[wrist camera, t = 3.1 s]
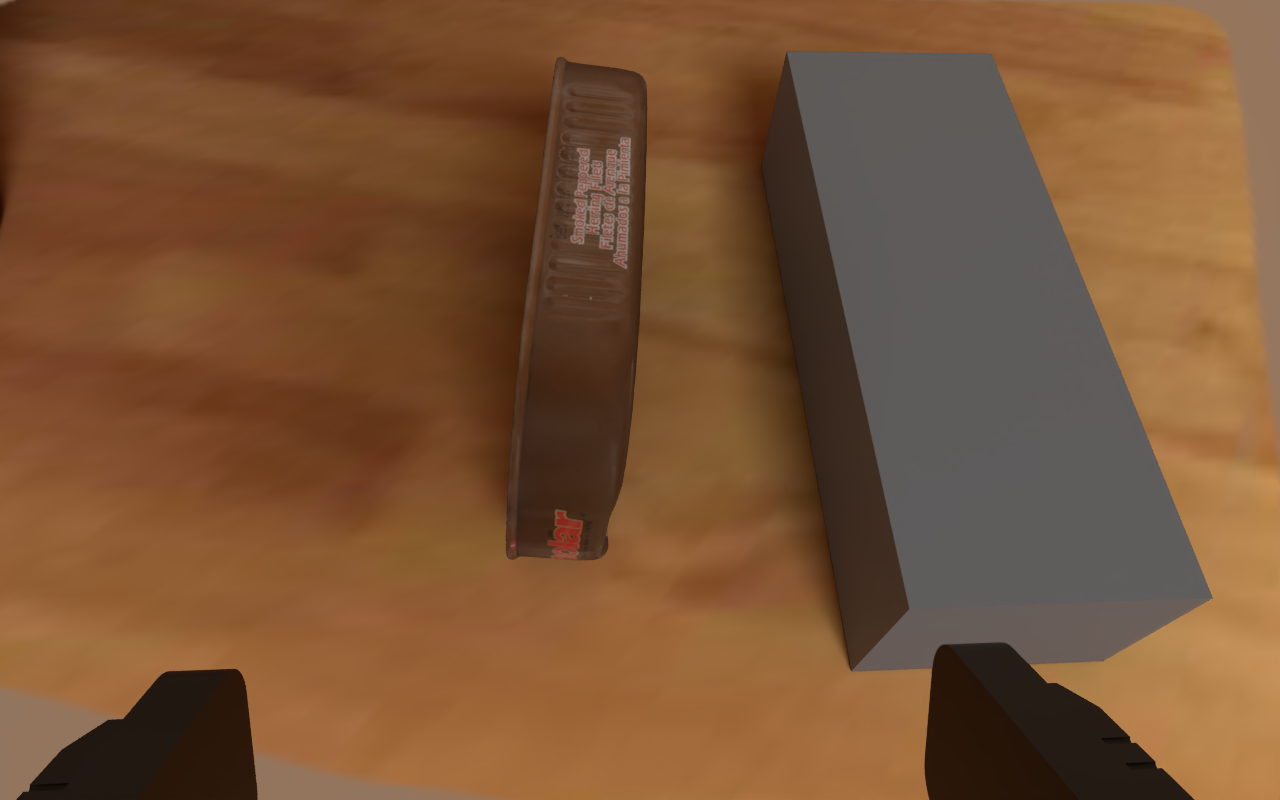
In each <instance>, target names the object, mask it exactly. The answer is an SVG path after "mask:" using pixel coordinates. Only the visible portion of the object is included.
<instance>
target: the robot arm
mask: <svg viewBox="0 0 1280 800" xmlns="http://www.w3.org/2000/svg"><path fill="white" fill-rule="evenodd" d="M925 779H926V786H927V791H928V796H929V800H1194V799H1193V798H1192V797H1191V796H1190V795H1189V794H1188V793H1187V792H1186V791H1185V790H1184V789H1183V788H1182V787H1181V786H1180V785H1179V784H1178V783H1177V782H1176V781H1175V780H1174V779H1173V778H1172V777H1171V776H1170V775H1169V774H1168V773H1167V772H1165V771H1164V770H1163V769H1162V768H1158V769H1157V767H1156V764H1155V761H1154V760H1153V759H1152V758H1151V757H1150V756H1149V755H1148V754H1147V753H1146V752H1145V751H1144V750H1143V749H1142V748H1141V747H1140V746H1139V745H1138V744H1137V743H1131V741H1130V736H1129V735H1127V734H1126V733H1125V732H1124V731H1123V730H1122V729H1121V728H1120V727H1119V726H1118V725H1117V724H1116V723H1115V722H1114V721H1113V720H1112V719H1111V718H1110V717H1109V716H1108V715H1107V714H1106V713H1105V712H1104V711H1103V710H1102V709H1101V708H1100V707H1098V706H1096V705H1095V704H1093V703H1091V702H1089V701H1088V700H1086V699H1084V698H1082V697H1080V696H1079V695H1077V694H1075V693H1073V692H1072V691H1070V690H1068V689H1066V688H1065V687H1063V686H1061V685H1059V684H1058V683H1047V682H1046V681H1045V680H1044V679H1043V678H1042V677H1041V676H1040V675H1039V674H1038V673H1037V672H1036V671H1035V670H1034V669H1033V668H1032V667H1031V666H1030V665H1029V664H1028V663H1027V662H1026V661H1025V660H1024V659H1023V658H1022V657H1021V656H1020V655H1019V654H1018V653H1017V652H1016V651H1015V649H1014V648H1013V647H1011V646H1010V645H1009V644H1007V643H1004V642H993V643H966V644H943V645H941V646H940V647H938V649H937V651H936V653H935V656H934V660H933V667H932V678H931V690H930V702H929V714H928V726H927V738H926V750H925ZM17 800H257V783H256V775H255V765H254V755H253V746H252V737H251V728H250V719H249V709H248V700H247V692H246V685H245V681H244V678H243V676H242V674H241V673H240V671H238V670H237V669H220V670H193V671H168V672H165V673H163V674H162V675H161V676H160V677H159V678H158V679H157V680H156V681H155V682H154V683H153V685H152V686H151V687H150V688H149V689H148V690H147V692H146V693H145V694H144V695H143V696H142V698H141V699H140V700H139V701H138V702H137V703H136V705H135V706H134V707H133V708H132V709H131V711H130V712H129V713H128V714H127V715H126V716H125V718H124V719H116V720H107V721H106V722H104V723H103V724H101V725H100V726H98V727H97V728H95V729H93V730H92V731H90V732H89V733H87V734H86V735H84V736H82V737H81V738H79V739H78V740H76V741H75V742H73V743H72V744H70V745H68V746H67V747H65V748H64V749H62V750H61V751H60V752H59V753H58V754H57V756H56V757H55V758H54V759H53V760H52V761H51V762H50V763H49V764H48V765H47V767H46V768H45V769H44V770H43V771H42V772H41V773H40V774H39V775H38V777H37V778H36V779H35V780H34V781H33V782H32V783H31V784H30V789H29V792H23V793H22V794H21V795H20V796H19V797H18V798H17Z"/></svg>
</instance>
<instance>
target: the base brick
mask: <svg viewBox="0 0 1280 800" xmlns="http://www.w3.org/2000/svg"><path fill="white" fill-rule="evenodd" d="M761 167H762V172H763V178H764V184H765V189H766V195H767V200H768V206H769V212H770V217H771V223H772V228H773V234H774V240H775V245H776V251H777V257H778V262H779V268H780V273H781V279H782V285H783V290H784V296H785V302H786V307H787V313H788V318H789V324H790V330H791V335H792V341H793V346H794V352H795V358H796V363H797V369H798V375H799V380H800V386H801V391H802V397H803V403H804V408H805V414H806V419H807V425H808V431H809V436H810V442H811V448H812V453H813V459H814V464H815V470H816V476H817V481H818V487H819V493H820V498H821V504H822V509H823V515H824V521H825V526H826V532H827V537H828V543H829V549H830V554H831V560H832V566H833V571H834V577H835V582H836V588H837V594H838V599H839V605H840V610H841V616H842V622H843V627H844V633H845V639H846V644H847V650H848V655H849V661H850V667H851V671H873V670H897V669H921V668H932V667H933V660H934V656H935V653H936V651H937V649H938V647H940V646H941V645H943V644H966V643H993V642H1004V643H1007V644H1009V645H1010V646H1011V647H1013V648H1014V649H1015V651H1016V652H1017V653H1018V654H1019V655H1020V656H1021V657H1022V658H1023V659H1024V660H1025V661H1026V662H1027V663H1028V664H1041V663H1066V662H1090V661H1104V660H1106V659H1107V658H1109V657H1111V656H1113V655H1114V654H1116V653H1118V652H1120V651H1121V650H1123V649H1125V648H1127V647H1128V646H1130V645H1132V644H1134V643H1135V642H1137V641H1139V640H1141V639H1142V638H1144V637H1146V636H1148V635H1149V634H1151V633H1153V632H1154V631H1156V630H1158V629H1160V628H1161V627H1163V626H1165V625H1167V624H1168V623H1170V622H1172V621H1174V620H1175V619H1177V618H1179V617H1181V616H1182V615H1184V614H1186V613H1188V612H1189V611H1191V610H1193V609H1195V608H1196V607H1198V606H1200V605H1202V604H1203V603H1205V602H1207V601H1209V600H1210V599H1212V595H1211V593H1210V590H1209V588H1208V585H1207V583H1206V580H1205V578H1204V575H1203V573H1202V571H1201V568H1200V566H1199V563H1198V561H1197V558H1196V556H1195V553H1194V551H1193V548H1192V546H1191V543H1190V541H1189V539H1188V536H1187V534H1186V531H1185V529H1184V526H1183V524H1182V521H1181V519H1180V516H1179V514H1178V512H1177V509H1176V507H1175V504H1174V502H1173V499H1172V497H1171V494H1170V492H1169V489H1168V487H1167V484H1166V482H1165V480H1164V477H1163V475H1162V472H1161V470H1160V467H1159V465H1158V462H1157V460H1156V457H1155V455H1154V452H1153V450H1152V448H1151V445H1150V443H1149V440H1148V438H1147V435H1146V433H1145V430H1144V428H1143V425H1142V423H1141V420H1140V418H1139V416H1138V413H1137V411H1136V408H1135V406H1134V403H1133V401H1132V398H1131V396H1130V393H1129V391H1128V389H1127V386H1126V384H1125V381H1124V379H1123V376H1122V374H1121V371H1120V369H1119V366H1118V364H1117V361H1116V359H1115V357H1114V354H1113V352H1112V349H1111V347H1110V344H1109V342H1108V339H1107V337H1106V334H1105V332H1104V329H1103V327H1102V325H1101V322H1100V320H1099V317H1098V315H1097V312H1096V310H1095V307H1094V305H1093V302H1092V300H1091V297H1090V295H1089V293H1088V290H1087V288H1086V285H1085V283H1084V280H1083V278H1082V275H1081V273H1080V270H1079V268H1078V266H1077V263H1076V261H1075V258H1074V256H1073V253H1072V251H1071V248H1070V246H1069V243H1068V241H1067V238H1066V236H1065V234H1064V231H1063V229H1062V226H1061V224H1060V221H1059V219H1058V216H1057V214H1056V211H1055V209H1054V206H1053V204H1052V202H1051V199H1050V197H1049V194H1048V192H1047V189H1046V187H1045V184H1044V182H1043V179H1042V177H1041V175H1040V172H1039V170H1038V167H1037V165H1036V162H1035V160H1034V157H1033V155H1032V152H1031V150H1030V147H1029V145H1028V143H1027V140H1026V138H1025V135H1024V133H1023V130H1022V128H1021V125H1020V123H1019V120H1018V118H1017V115H1016V113H1015V111H1014V108H1013V106H1012V103H1011V101H1010V98H1009V96H1008V93H1007V91H1006V88H1005V86H1004V83H1003V81H1002V79H1001V76H1000V74H999V71H998V69H997V66H996V64H995V61H994V59H993V56H992V54H964V53H880V52H797V51H787V53H786V57H785V62H784V66H783V70H782V75H781V79H780V84H779V88H778V93H777V97H776V102H775V106H774V110H773V115H772V119H771V124H770V128H769V133H768V137H767V141H766V146H765V150H764V155H763V159H762V164H761Z"/></svg>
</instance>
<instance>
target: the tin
mask: <svg viewBox="0 0 1280 800" xmlns="http://www.w3.org/2000/svg"><path fill="white" fill-rule="evenodd" d="M646 142H647V89H646V82H645V80H644V79H643V77H642V76H641V75H640V74H638V73H636V72H633V71H628V70H623V69H618V68H610V67H603V66H594V65H586V64H579V63H572V62H568V61H567V60H566V59H564V58H562V57H559V58H557V61H556V65H555V70H554V77H553V86H552V92H551V100H550V108H549V115H548V123H547V133H546V138H545V147H544V154H543V164H542V173H541V181H540V188H539V195H538V204H537V212H536V220H535V228H534V234H533V243H532V252H531V260H530V266H529V274H528V281H527V289H526V297H525V305H524V312H523V320H522V330H521V340H520V351H519V362H518V369H517V380H516V394H515V405H514V415H513V426H512V433H511V450H510V461H509V481H508V495H507V522H506V525H507V528H506V542H507V543H506V553H507V557H508V558H509V559H512V560H513V559H516V558H517V557H519V556H528V557H542V558H555V559H567V560H595V559H599V558H601V557H602V556H603V555H605V553H606V552H607V549H608V536H607V526H608V522H609V518H610V515H611V513H612V511H613V509H614V507H615V505H616V502H617V499H618V496H619V493H620V490H621V487H622V482H623V476H624V471H625V465H626V458H627V451H628V443H629V435H630V426H631V418H632V410H633V397H634V385H635V375H636V361H637V347H638V333H639V319H640V298H641V276H642V258H643V237H644V214H645V183H646V150H647V143H646Z"/></svg>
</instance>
